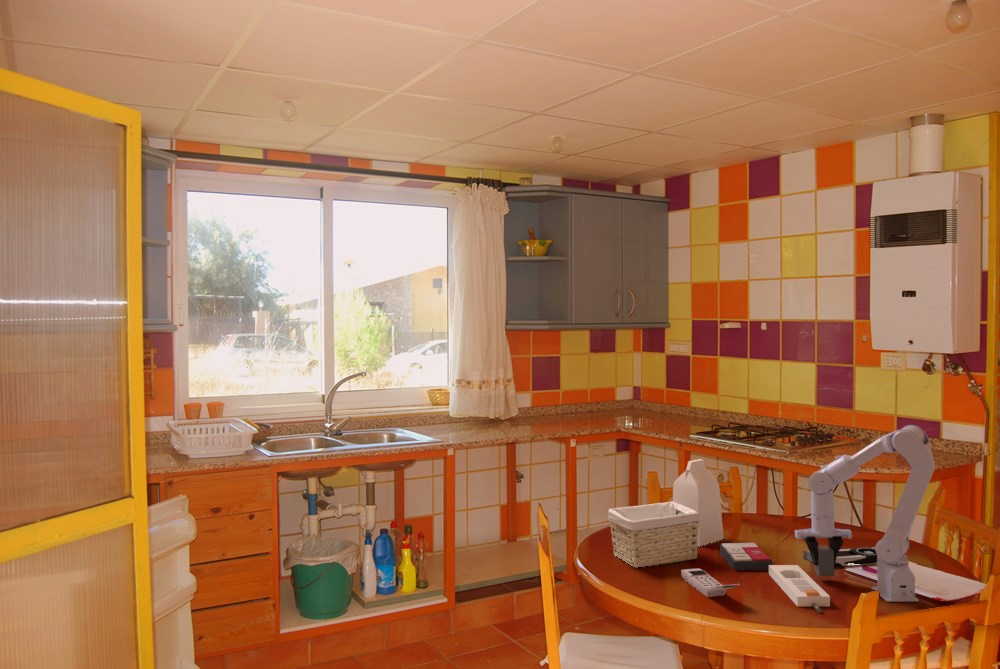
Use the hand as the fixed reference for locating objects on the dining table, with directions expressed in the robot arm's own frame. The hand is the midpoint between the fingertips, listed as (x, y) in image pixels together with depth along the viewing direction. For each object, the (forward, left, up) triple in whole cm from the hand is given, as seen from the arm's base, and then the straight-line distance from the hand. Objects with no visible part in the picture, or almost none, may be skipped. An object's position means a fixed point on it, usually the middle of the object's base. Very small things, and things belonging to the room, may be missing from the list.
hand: (823, 564), depth 206 cm
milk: (+40, +26, -5) cm, 48 cm away
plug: (0, 0, -3) cm, 3 cm away
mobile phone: (-6, +33, -5) cm, 34 cm away
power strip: (-8, +9, -5) cm, 13 cm away
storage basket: (+21, +43, -5) cm, 48 cm away
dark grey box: (+17, +17, -5) cm, 24 cm away
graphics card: (+17, -14, -6) cm, 22 cm away
